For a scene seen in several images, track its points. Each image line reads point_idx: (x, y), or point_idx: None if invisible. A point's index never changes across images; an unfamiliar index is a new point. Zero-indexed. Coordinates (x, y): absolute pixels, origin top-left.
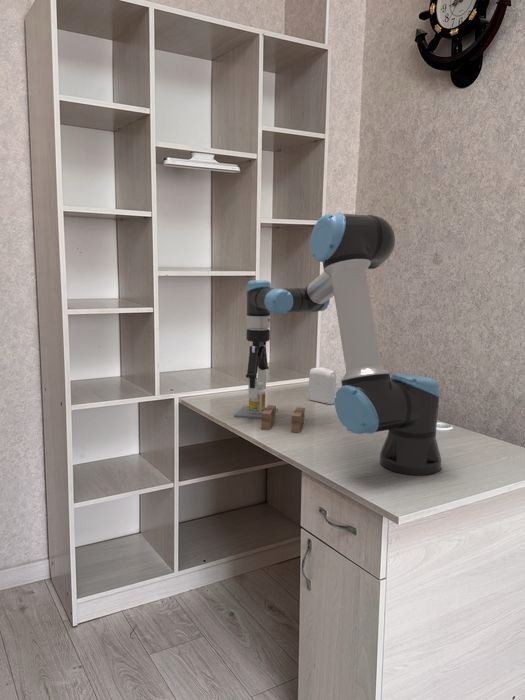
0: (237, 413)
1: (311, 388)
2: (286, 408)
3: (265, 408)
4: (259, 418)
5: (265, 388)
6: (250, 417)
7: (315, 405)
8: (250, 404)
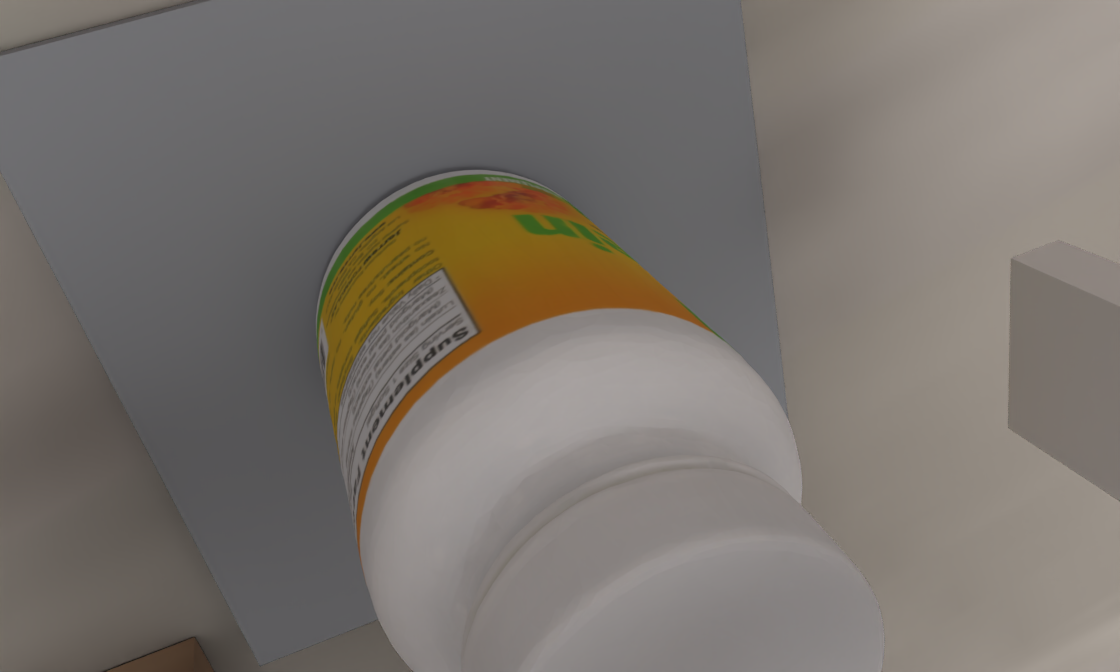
0: (120, 61)
1: None
2: (901, 473)
3: (720, 316)
4: (185, 510)
5: (1025, 433)
6: (116, 379)
7: (1104, 628)
8: (343, 332)
